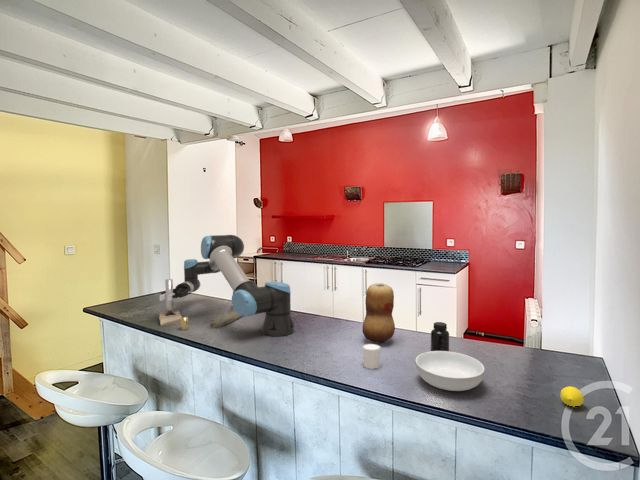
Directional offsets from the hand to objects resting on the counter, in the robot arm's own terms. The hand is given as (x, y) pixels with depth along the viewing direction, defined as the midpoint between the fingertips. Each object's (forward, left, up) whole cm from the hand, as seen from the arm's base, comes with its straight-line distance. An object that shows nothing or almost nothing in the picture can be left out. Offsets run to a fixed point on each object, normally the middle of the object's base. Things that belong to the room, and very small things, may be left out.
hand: (164, 298), depth 184 cm
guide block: (+5, -3, -13) cm, 14 cm away
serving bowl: (-114, -77, -13) cm, 138 cm away
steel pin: (+5, -3, -11) cm, 13 cm away
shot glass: (-91, -63, -13) cm, 112 cm away
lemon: (-140, -97, -13) cm, 171 cm away
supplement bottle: (-94, -93, -13) cm, 133 cm away
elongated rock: (-6, -33, -14) cm, 36 cm away
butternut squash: (-72, -80, -13) cm, 108 cm away
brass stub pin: (-14, -8, -13) cm, 21 cm away
